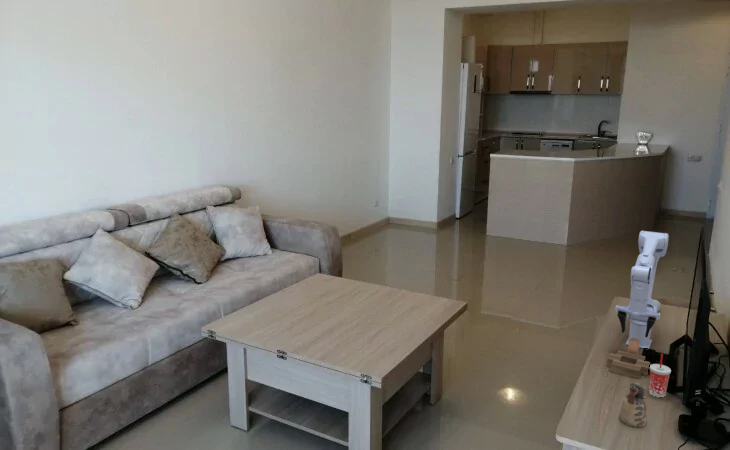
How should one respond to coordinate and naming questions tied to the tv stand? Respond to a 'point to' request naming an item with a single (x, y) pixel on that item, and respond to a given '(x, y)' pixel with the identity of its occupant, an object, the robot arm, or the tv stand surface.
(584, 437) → the tv stand surface
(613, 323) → the tv stand surface
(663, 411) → the tv stand surface
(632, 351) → the peg
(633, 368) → the socket block
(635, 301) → the robot arm
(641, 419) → the figurine
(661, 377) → the beverage cup
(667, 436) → the tv stand surface
